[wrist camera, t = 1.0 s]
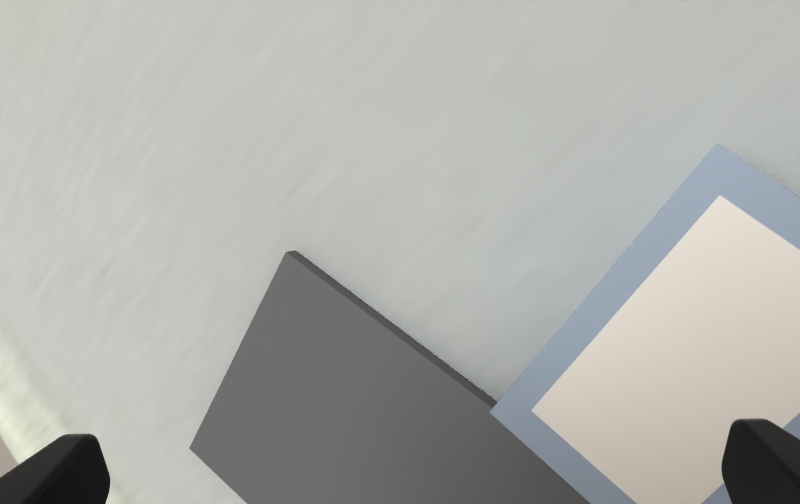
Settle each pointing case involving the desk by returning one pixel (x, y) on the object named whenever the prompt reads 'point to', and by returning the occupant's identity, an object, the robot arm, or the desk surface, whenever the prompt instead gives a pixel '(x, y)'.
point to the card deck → (674, 346)
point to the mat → (357, 412)
